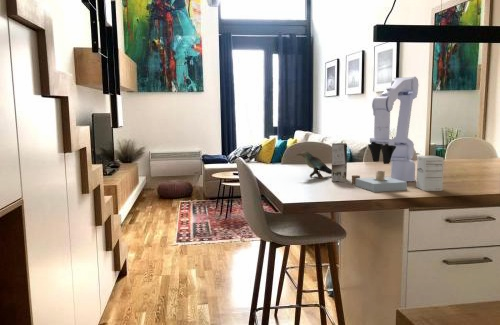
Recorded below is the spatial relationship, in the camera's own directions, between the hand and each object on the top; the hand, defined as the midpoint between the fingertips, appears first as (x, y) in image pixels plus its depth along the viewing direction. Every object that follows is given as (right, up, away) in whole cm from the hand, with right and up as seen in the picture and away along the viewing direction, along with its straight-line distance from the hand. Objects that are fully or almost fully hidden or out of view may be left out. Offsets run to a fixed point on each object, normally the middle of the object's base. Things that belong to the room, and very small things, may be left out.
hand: (381, 162), depth 164 cm
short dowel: (-7, -9, +10) cm, 15 cm away
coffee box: (-12, -8, +21) cm, 25 cm away
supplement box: (+17, -10, -3) cm, 20 cm away
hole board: (0, -10, +1) cm, 10 cm away
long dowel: (0, -10, +1) cm, 10 cm away
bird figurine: (-20, -7, +29) cm, 36 cm away
